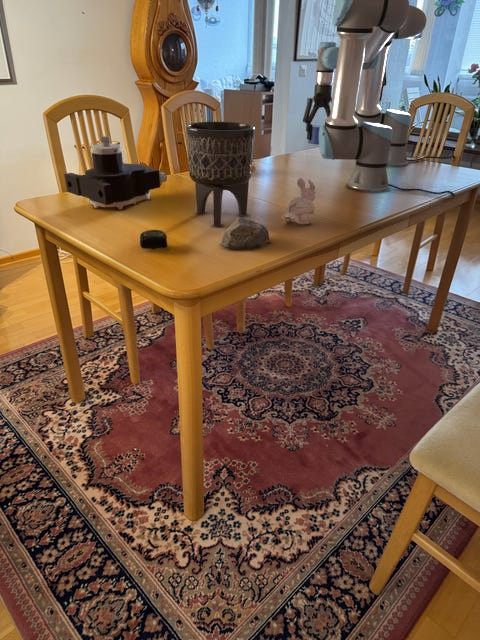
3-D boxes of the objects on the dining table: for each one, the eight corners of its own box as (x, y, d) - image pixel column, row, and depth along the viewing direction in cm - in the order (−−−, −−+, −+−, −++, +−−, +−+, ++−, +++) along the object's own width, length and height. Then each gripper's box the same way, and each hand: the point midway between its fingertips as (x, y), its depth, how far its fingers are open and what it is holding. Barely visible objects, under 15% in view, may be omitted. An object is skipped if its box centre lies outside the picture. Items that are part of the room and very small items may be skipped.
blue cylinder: (320, 145, 203) (322, 127, 199) (304, 142, 208) (305, 125, 204) (331, 143, 208) (333, 126, 205) (315, 140, 214) (317, 124, 210)
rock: (255, 233, 128) (256, 211, 124) (276, 242, 122) (278, 219, 119) (217, 244, 120) (217, 220, 117) (239, 254, 115) (239, 230, 111)
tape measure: (140, 252, 115) (139, 238, 113) (141, 242, 120) (140, 229, 119) (167, 251, 116) (166, 237, 114) (167, 241, 121) (166, 228, 120)
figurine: (321, 218, 142) (325, 177, 135) (298, 231, 131) (302, 187, 125) (298, 213, 146) (301, 173, 139) (274, 225, 135) (277, 182, 128)
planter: (175, 218, 139) (170, 125, 125) (214, 204, 153) (213, 119, 139) (227, 232, 129) (227, 132, 116) (263, 215, 143) (268, 125, 130)
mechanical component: (57, 135, 140) (135, 127, 160) (69, 203, 151) (140, 187, 171) (98, 144, 128) (177, 134, 148) (107, 217, 139) (180, 198, 159)
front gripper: (341, 83, 202) (335, 137, 213) (297, 83, 196) (293, 138, 207) (350, 84, 196) (343, 139, 207) (305, 84, 190) (300, 141, 201)
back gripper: (362, 53, 239) (356, 97, 250) (384, 53, 218) (376, 101, 229) (375, 53, 241) (368, 97, 252) (398, 53, 220) (390, 101, 230)
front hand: (318, 139), depth 207 cm, fingers closed on blue cylinder, 9 cm apart
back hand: (372, 99), depth 240 cm, fingers open, 13 cm apart
